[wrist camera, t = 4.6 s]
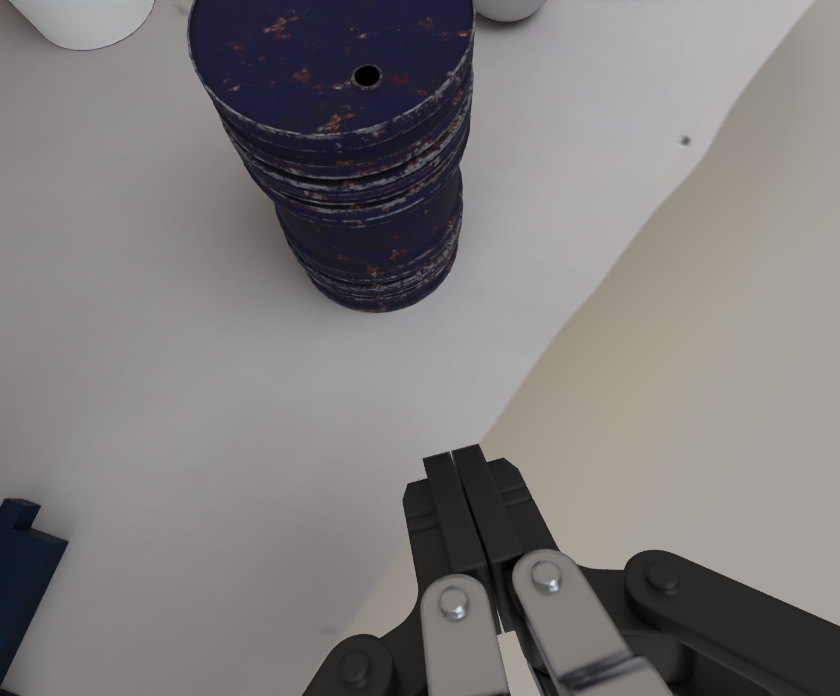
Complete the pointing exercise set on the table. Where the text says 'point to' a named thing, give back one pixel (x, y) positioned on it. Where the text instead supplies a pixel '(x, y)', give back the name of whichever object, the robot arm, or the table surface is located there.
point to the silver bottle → (507, 9)
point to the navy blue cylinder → (349, 131)
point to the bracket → (85, 20)
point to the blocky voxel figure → (22, 574)
